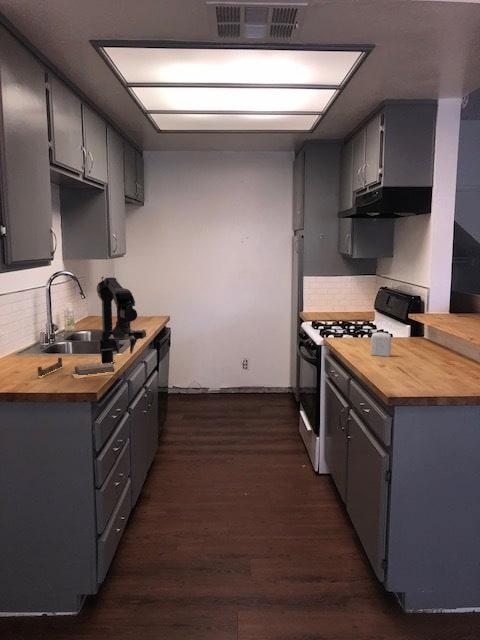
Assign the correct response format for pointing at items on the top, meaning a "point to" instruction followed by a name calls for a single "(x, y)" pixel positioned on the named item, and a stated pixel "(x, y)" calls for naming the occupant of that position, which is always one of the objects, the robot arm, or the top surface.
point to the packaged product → (93, 369)
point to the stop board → (50, 368)
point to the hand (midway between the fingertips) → (124, 353)
